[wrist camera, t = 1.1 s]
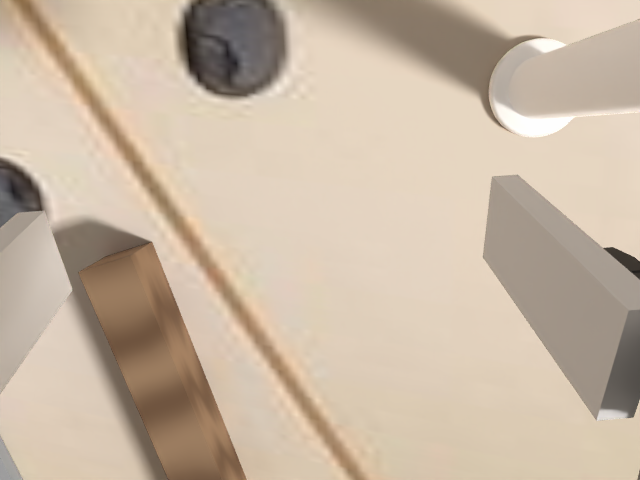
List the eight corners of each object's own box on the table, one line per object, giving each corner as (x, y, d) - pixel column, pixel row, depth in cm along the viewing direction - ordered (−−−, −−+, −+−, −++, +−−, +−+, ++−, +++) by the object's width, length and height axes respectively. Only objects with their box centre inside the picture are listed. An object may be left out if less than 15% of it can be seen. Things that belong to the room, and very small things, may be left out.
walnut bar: (251, 487, 45) (243, 531, 40) (209, 499, 45) (196, 544, 40) (153, 241, 40) (130, 255, 35) (107, 255, 40) (78, 272, 35)
